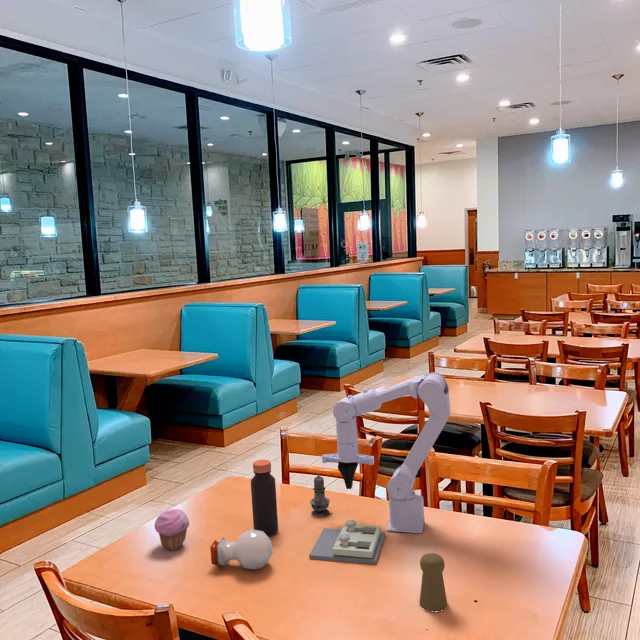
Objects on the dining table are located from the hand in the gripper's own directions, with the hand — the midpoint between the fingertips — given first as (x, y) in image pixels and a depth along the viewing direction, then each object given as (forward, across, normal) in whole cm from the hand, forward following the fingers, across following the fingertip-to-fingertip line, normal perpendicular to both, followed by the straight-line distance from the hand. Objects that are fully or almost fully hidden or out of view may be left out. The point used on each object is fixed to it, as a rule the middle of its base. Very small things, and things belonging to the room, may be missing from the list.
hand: (349, 487), depth 175 cm
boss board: (+10, -2, +15) cm, 18 cm away
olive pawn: (+10, -26, +37) cm, 46 cm away
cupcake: (+10, +44, +22) cm, 50 cm away
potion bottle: (+10, +21, +29) cm, 37 cm away
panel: (+9, -5, +15) cm, 18 cm away
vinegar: (+10, +22, +10) cm, 26 cm away
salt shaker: (+10, +10, -4) cm, 15 cm away
